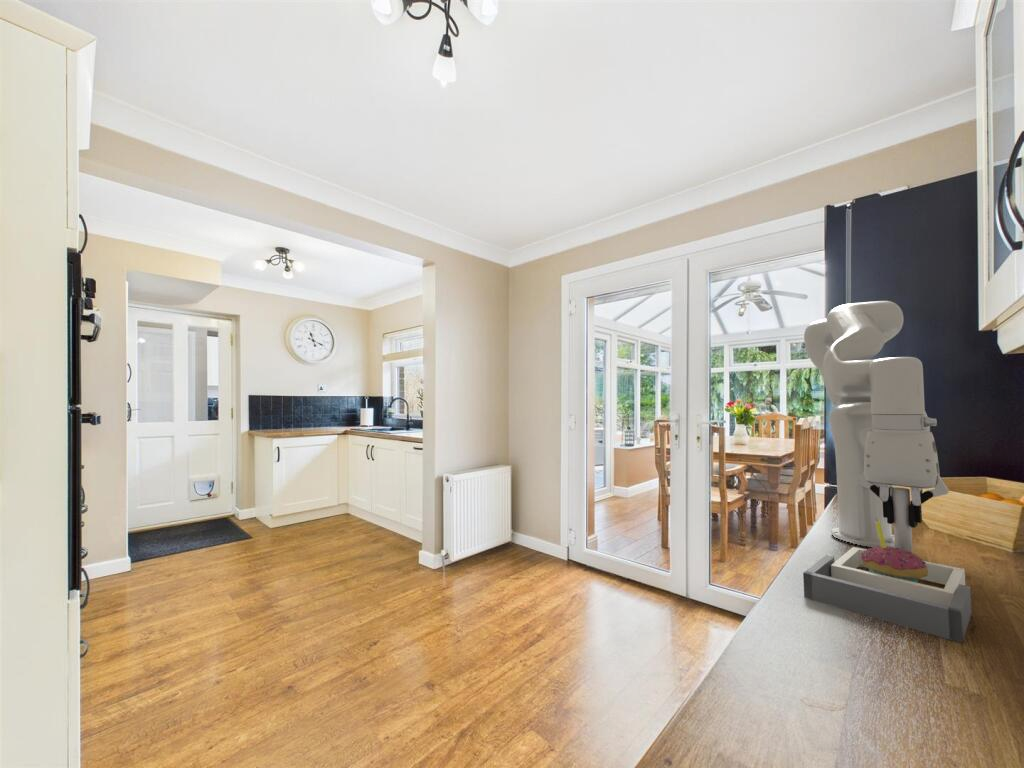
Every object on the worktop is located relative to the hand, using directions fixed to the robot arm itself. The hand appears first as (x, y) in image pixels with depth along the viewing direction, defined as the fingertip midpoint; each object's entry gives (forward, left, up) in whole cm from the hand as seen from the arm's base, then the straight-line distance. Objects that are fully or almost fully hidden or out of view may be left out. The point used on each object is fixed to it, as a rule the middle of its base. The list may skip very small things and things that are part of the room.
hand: (902, 523), depth 81 cm
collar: (+7, 0, -10) cm, 12 cm away
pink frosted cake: (+8, 0, -10) cm, 13 cm away
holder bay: (+17, 0, -10) cm, 19 cm away
